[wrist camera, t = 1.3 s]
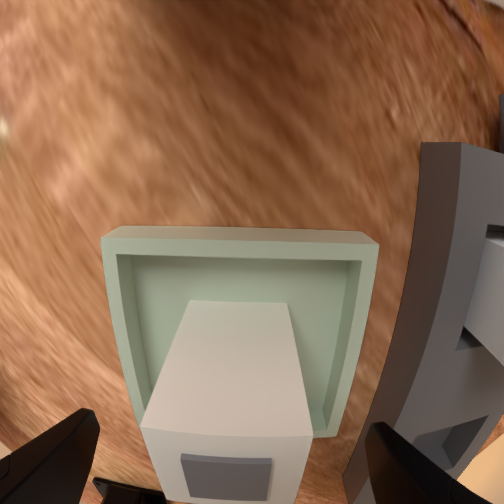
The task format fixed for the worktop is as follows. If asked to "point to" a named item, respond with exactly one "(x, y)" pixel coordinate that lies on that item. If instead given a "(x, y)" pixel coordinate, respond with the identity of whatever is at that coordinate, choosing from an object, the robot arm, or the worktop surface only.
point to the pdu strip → (442, 318)
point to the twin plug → (489, 297)
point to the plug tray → (243, 298)
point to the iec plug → (230, 407)
